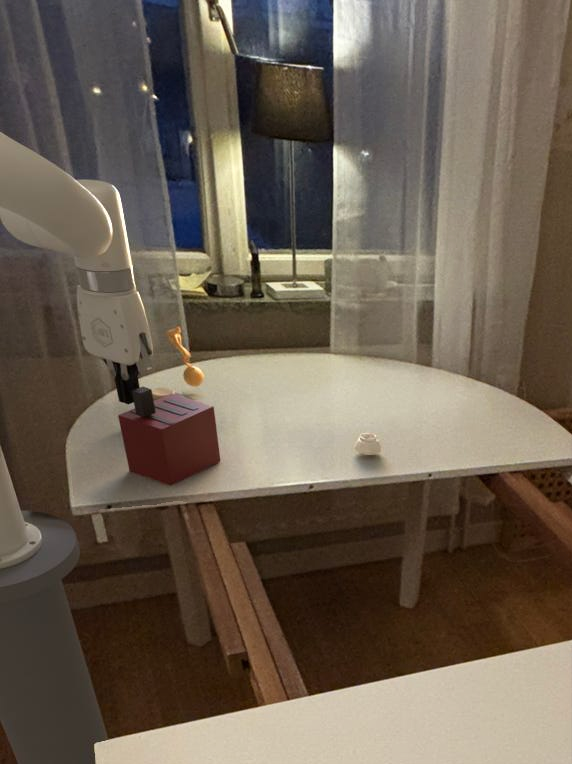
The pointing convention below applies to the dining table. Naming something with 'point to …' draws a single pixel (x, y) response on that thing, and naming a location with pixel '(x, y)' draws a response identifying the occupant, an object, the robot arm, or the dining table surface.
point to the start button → (161, 392)
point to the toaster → (171, 439)
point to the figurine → (186, 360)
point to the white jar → (368, 444)
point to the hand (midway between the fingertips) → (130, 400)
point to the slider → (143, 401)
